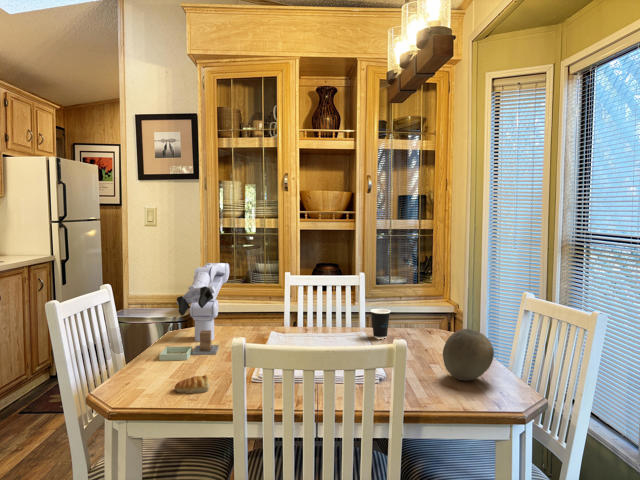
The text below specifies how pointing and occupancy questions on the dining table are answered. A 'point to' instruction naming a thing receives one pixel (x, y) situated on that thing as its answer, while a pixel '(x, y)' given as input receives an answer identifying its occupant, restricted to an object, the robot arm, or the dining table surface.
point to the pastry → (193, 385)
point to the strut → (205, 340)
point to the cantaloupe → (467, 354)
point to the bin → (182, 349)
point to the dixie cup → (380, 322)
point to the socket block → (205, 352)
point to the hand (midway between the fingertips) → (190, 309)
